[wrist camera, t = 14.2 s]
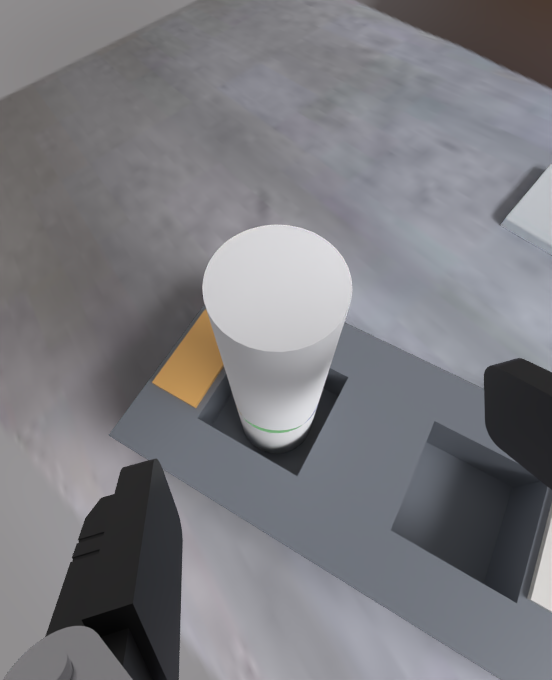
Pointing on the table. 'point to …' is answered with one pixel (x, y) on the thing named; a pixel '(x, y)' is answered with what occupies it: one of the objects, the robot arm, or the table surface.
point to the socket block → (375, 491)
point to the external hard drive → (534, 214)
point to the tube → (277, 326)
